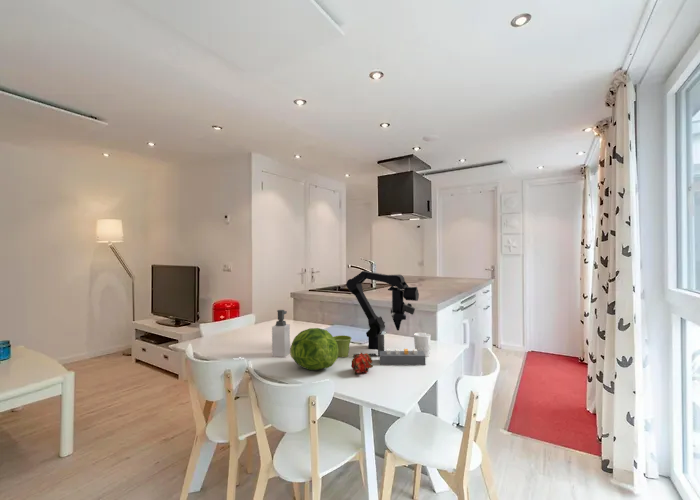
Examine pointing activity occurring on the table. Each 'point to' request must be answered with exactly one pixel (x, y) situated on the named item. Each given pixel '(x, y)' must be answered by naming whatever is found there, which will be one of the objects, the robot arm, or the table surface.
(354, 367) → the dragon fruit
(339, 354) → the plant pot
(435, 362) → the table surface
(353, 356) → the dark grey thin rod
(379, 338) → the post
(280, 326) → the soap dispenser
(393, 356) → the breaker strip
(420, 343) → the white cup
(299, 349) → the lettuce
